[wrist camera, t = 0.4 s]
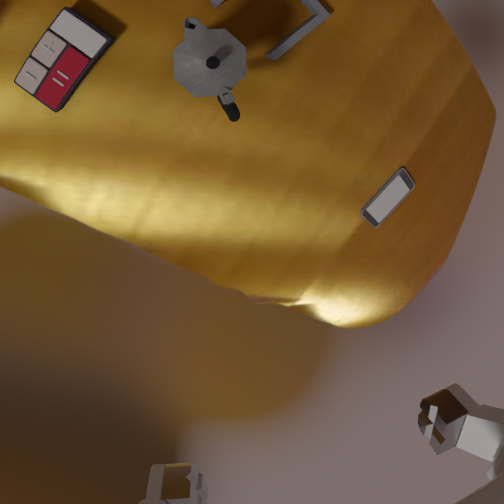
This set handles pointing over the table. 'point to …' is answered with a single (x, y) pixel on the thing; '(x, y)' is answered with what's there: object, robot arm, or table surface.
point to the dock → (318, 17)
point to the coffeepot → (210, 63)
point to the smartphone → (388, 197)
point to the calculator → (62, 58)
